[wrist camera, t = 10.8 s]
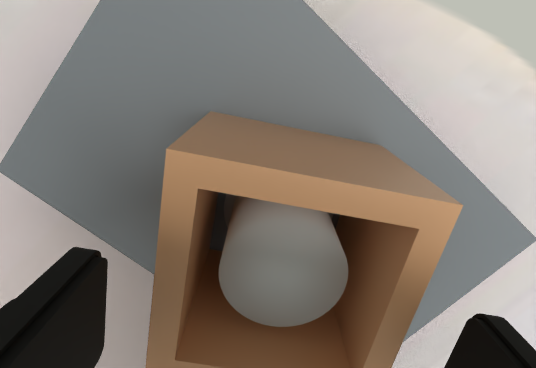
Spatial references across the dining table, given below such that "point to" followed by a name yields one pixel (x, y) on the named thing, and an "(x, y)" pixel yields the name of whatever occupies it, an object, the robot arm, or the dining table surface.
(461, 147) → the dining table surface
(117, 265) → the dining table surface
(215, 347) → the collar
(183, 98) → the grey plate with peg
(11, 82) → the dining table surface
